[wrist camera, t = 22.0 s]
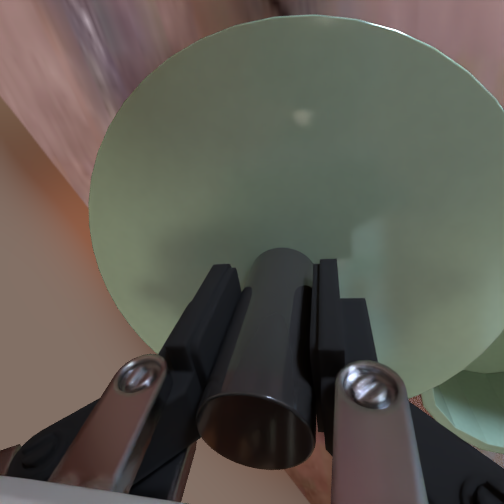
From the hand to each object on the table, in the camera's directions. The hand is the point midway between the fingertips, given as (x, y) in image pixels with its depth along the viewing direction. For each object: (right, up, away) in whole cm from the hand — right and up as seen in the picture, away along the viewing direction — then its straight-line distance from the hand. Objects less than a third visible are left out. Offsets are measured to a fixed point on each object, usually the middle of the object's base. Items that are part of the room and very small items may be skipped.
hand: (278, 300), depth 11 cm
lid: (0, +1, +2) cm, 2 cm away
